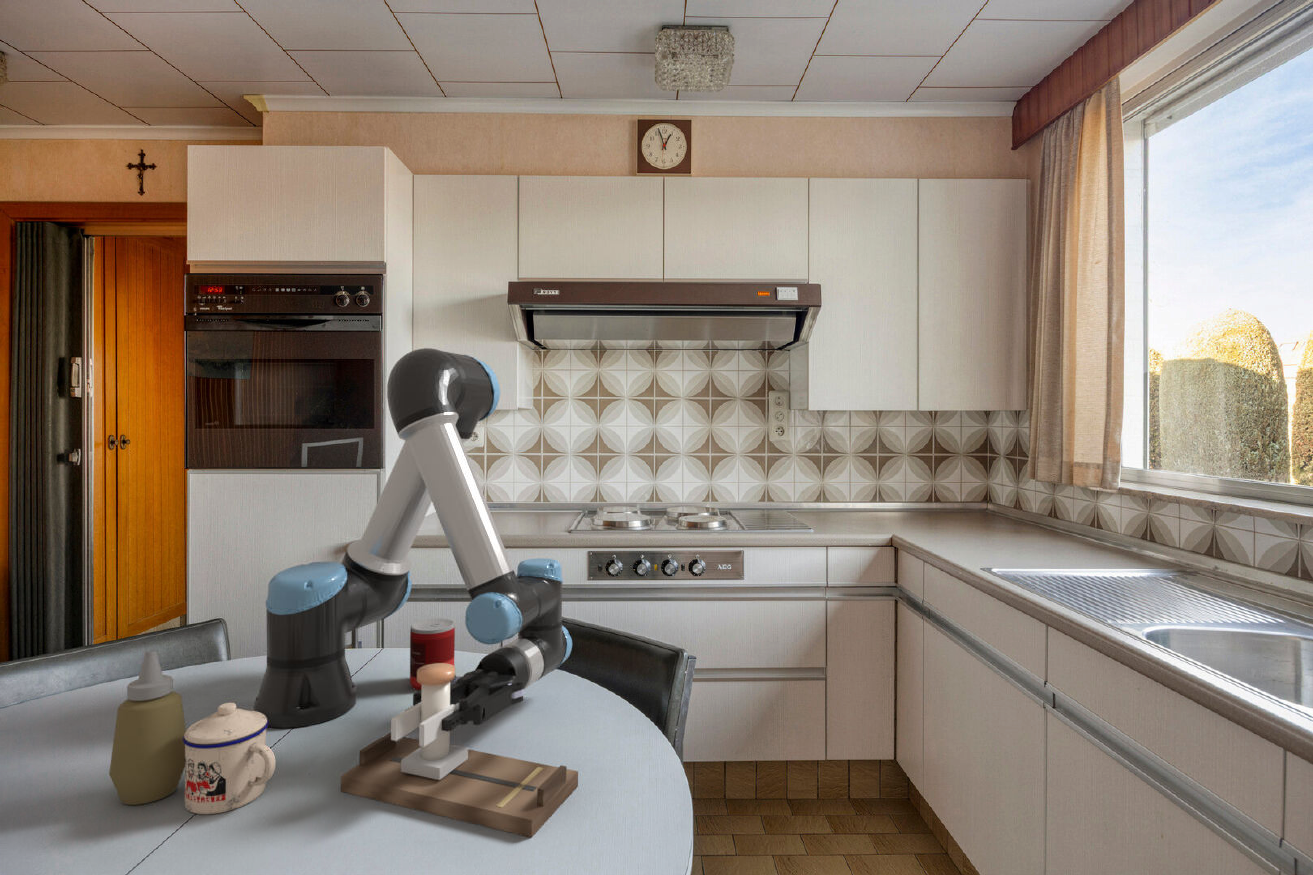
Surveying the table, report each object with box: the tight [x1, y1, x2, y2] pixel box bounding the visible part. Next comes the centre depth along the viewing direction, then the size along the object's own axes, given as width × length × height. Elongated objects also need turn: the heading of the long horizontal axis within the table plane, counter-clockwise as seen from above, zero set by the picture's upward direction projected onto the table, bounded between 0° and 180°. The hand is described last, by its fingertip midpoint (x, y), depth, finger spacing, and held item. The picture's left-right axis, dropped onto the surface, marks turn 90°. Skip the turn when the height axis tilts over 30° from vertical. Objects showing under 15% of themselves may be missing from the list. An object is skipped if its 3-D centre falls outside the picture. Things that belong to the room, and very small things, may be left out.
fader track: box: [340, 731, 579, 838], centre depth 88 cm, size 28×12×4 cm, turn 71°
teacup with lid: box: [183, 702, 277, 815], centre depth 85 cm, size 12×9×12 cm
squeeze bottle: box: [108, 651, 187, 806], centre depth 86 cm, size 8×8×18 cm
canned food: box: [409, 618, 456, 691], centre depth 124 cm, size 8×8×11 cm
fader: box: [401, 663, 469, 780], centre depth 89 cm, size 6×6×13 cm
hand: (407, 732), depth 84 cm, fingers closed on fader, 4 cm apart
